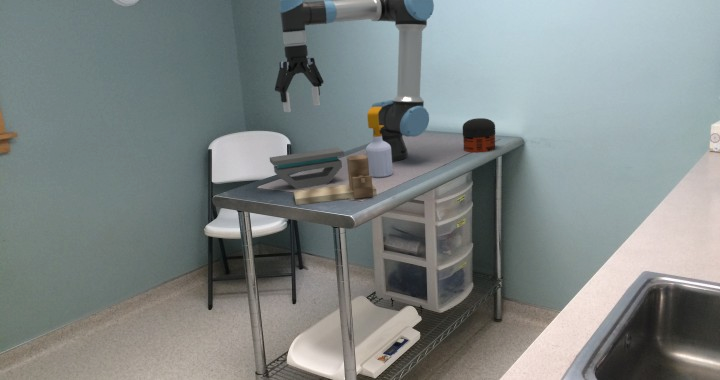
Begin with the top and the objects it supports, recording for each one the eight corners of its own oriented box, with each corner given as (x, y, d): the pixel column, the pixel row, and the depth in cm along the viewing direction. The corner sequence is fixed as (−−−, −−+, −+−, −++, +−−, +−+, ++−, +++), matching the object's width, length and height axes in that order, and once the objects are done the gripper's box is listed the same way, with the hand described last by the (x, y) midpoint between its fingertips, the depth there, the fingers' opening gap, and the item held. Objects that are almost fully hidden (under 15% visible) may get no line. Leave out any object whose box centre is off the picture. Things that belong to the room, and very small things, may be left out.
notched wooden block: (367, 188, 207) (364, 154, 204) (373, 196, 197) (370, 161, 194) (349, 190, 206) (346, 156, 203) (355, 199, 196) (351, 163, 193)
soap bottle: (396, 171, 228) (391, 105, 221) (387, 178, 220) (381, 109, 213) (374, 171, 232) (369, 105, 225) (364, 177, 224) (358, 109, 217)
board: (371, 187, 210) (370, 181, 209) (376, 194, 200) (376, 189, 199) (294, 197, 206) (293, 191, 205) (296, 205, 196) (295, 199, 196)
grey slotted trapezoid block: (277, 192, 214) (273, 161, 211) (273, 187, 221) (269, 157, 218) (346, 181, 221) (343, 151, 218) (340, 176, 228) (337, 147, 225)
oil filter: (488, 153, 245) (500, 146, 255) (487, 122, 242) (499, 116, 252) (458, 152, 252) (470, 145, 262) (457, 122, 249) (469, 116, 259)
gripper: (314, 42, 217) (320, 102, 222) (258, 48, 199) (267, 114, 205) (329, 41, 212) (335, 103, 217) (274, 47, 194) (281, 115, 200)
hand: (302, 108), depth 211 cm, fingers open, 13 cm apart
